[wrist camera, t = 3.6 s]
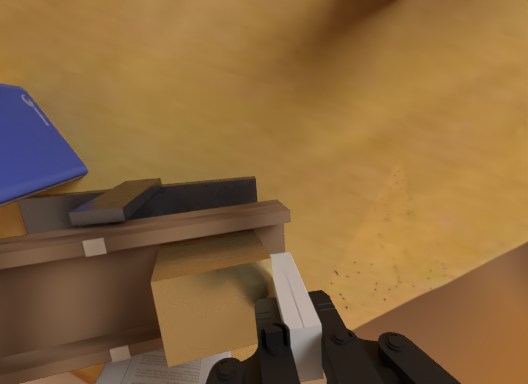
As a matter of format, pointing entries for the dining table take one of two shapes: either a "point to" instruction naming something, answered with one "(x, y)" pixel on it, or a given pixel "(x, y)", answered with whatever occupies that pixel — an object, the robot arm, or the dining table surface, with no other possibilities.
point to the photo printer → (157, 370)
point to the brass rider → (210, 293)
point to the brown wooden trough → (100, 287)
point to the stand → (132, 202)
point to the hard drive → (31, 149)
